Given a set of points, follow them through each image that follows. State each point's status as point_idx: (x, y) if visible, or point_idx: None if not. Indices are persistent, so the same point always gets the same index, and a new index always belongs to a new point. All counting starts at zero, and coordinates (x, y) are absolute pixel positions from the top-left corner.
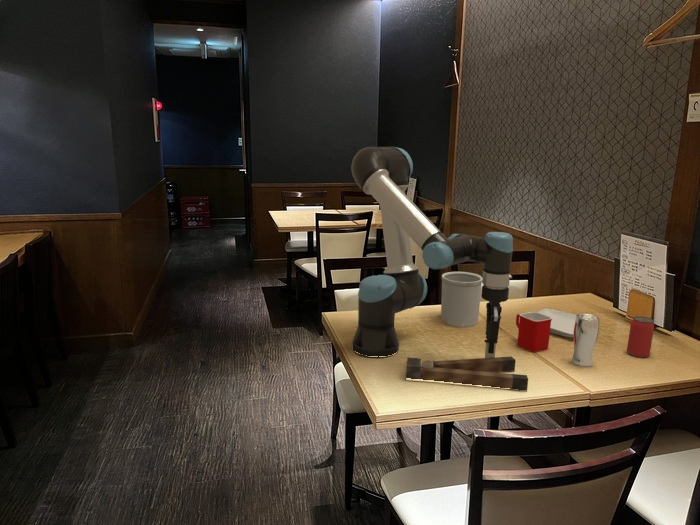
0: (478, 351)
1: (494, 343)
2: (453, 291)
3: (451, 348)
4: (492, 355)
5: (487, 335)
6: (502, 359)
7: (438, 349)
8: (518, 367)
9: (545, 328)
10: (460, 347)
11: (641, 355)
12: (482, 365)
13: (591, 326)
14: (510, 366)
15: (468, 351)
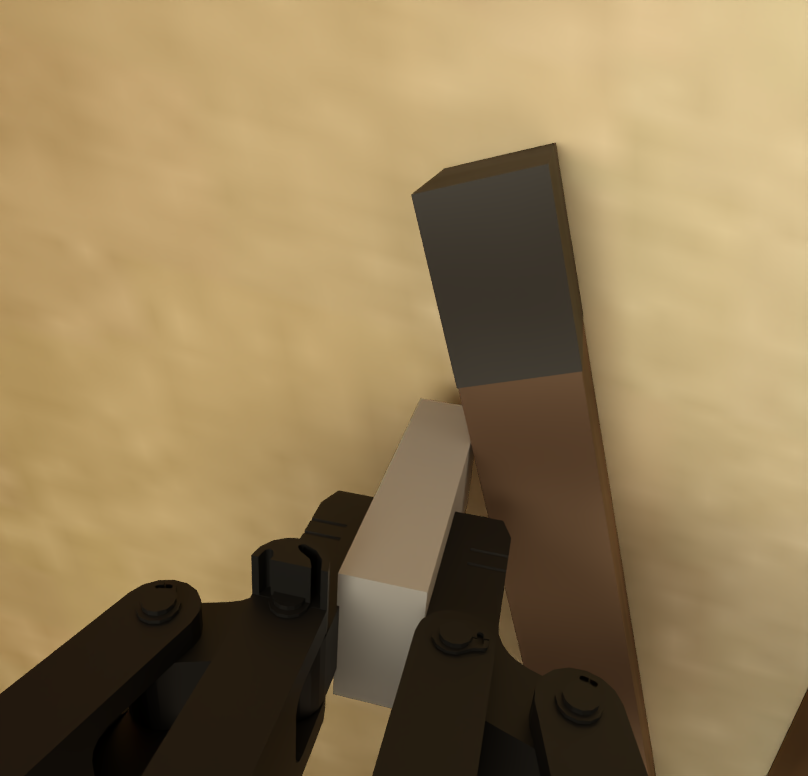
0: (68, 406)
1: (427, 597)
2: None
3: (78, 610)
4: (462, 486)
5: (305, 757)
6: (539, 365)
7: None
8: (417, 46)
9: None
10: (31, 536)
11: None
12: (621, 589)
13: None
14: (564, 221)
15: (97, 496)
